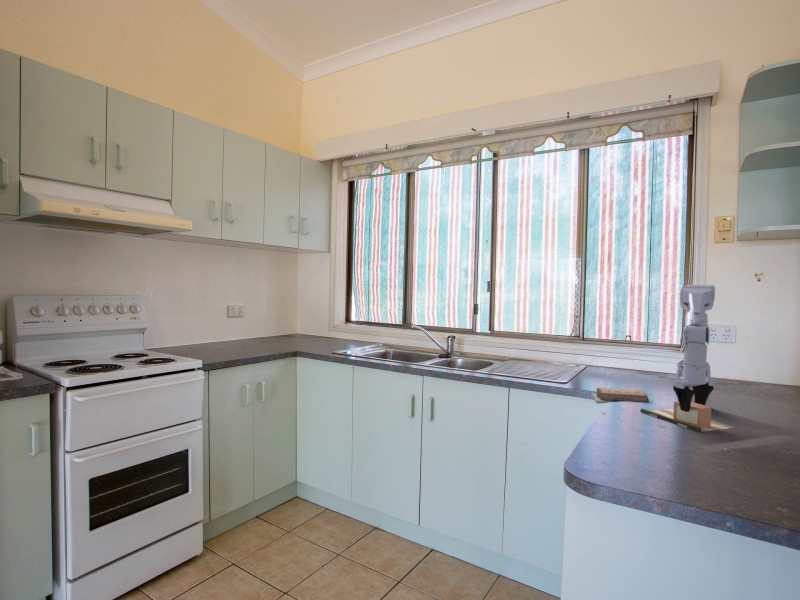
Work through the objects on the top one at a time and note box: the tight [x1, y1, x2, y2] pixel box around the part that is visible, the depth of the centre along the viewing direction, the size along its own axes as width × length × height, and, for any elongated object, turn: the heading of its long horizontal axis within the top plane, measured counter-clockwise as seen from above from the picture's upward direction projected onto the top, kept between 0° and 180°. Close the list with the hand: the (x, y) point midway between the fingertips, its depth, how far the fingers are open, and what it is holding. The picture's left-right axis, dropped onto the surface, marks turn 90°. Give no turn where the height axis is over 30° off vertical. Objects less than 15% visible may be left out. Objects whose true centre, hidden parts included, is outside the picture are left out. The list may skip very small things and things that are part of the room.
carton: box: [673, 401, 712, 429], centre depth 133 cm, size 5×8×6 cm, turn 27°
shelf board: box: [640, 408, 736, 433], centre depth 137 cm, size 15×20×2 cm
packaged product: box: [591, 387, 650, 404], centre depth 163 cm, size 18×5×10 cm
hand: (692, 409), depth 133 cm, fingers open, 7 cm apart
